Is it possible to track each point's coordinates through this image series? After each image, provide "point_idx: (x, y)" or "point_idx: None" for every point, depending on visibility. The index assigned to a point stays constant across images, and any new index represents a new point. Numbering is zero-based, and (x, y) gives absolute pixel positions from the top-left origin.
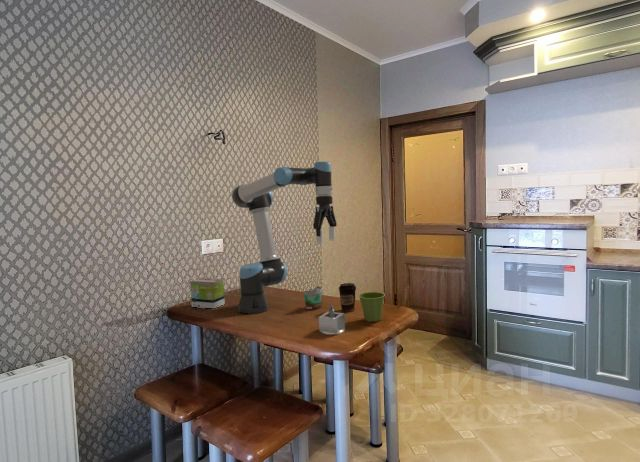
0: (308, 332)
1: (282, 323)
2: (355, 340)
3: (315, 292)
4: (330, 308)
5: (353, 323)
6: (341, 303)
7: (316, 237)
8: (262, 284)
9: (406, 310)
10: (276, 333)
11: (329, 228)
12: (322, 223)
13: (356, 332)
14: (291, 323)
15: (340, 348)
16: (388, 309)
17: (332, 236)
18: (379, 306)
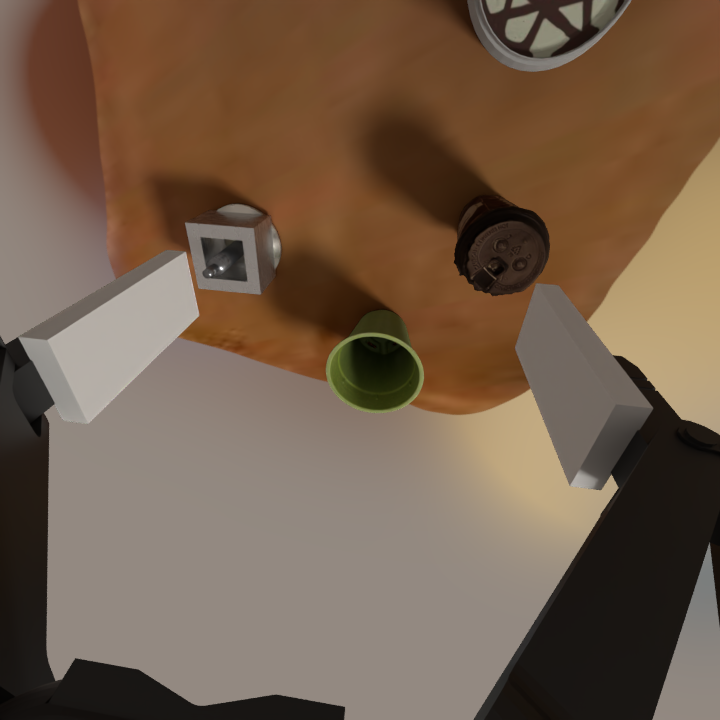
0: (195, 168)
1: None
2: (207, 323)
3: (489, 44)
4: (208, 266)
5: (331, 285)
6: (471, 207)
7: (120, 278)
8: None
9: (494, 401)
10: (124, 35)
11: (596, 394)
12: (47, 499)
13: (260, 312)
14: (251, 30)
15: None
16: (504, 355)
17: (533, 354)
18: (359, 379)
